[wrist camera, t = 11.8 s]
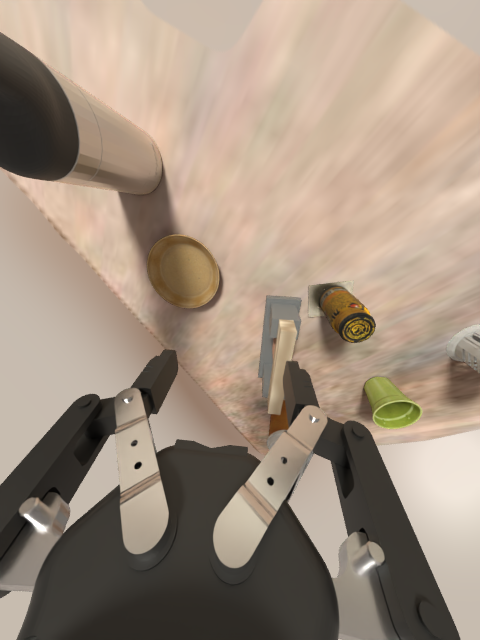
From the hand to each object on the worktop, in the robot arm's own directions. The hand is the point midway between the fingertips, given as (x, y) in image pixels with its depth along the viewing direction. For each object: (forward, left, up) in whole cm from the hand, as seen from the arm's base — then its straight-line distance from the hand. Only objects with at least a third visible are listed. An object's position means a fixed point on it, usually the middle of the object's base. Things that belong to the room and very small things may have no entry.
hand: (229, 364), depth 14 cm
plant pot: (+34, -28, -29) cm, 52 cm away
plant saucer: (-13, -2, -29) cm, 32 cm away
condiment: (+17, -6, -29) cm, 34 cm away
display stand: (+7, -17, -29) cm, 34 cm away
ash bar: (+7, -17, -20) cm, 27 cm away
